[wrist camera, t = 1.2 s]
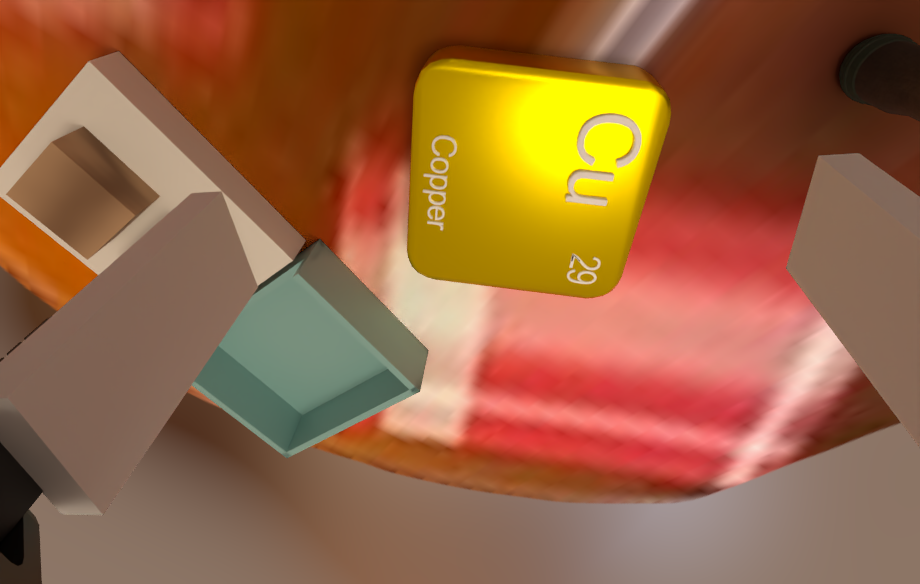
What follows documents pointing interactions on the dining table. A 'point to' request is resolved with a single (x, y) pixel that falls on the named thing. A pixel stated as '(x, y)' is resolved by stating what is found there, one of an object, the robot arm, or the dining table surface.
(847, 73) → the stick grenade
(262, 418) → the tray
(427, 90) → the element tile
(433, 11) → the dining table surface
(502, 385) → the dining table surface
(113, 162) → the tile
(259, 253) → the board
